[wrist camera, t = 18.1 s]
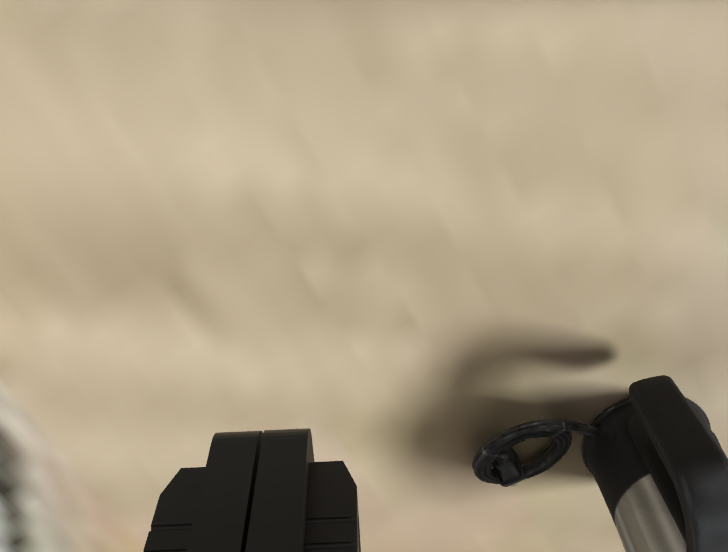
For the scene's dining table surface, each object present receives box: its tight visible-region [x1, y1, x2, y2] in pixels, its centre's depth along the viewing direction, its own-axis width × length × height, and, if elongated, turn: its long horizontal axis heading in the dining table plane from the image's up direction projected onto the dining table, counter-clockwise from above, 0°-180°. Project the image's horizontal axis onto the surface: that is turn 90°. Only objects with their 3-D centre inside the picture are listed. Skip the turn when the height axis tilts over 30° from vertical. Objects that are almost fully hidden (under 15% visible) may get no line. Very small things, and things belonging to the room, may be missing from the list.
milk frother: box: [472, 375, 728, 552], centre depth 44 cm, size 14×16×15 cm
